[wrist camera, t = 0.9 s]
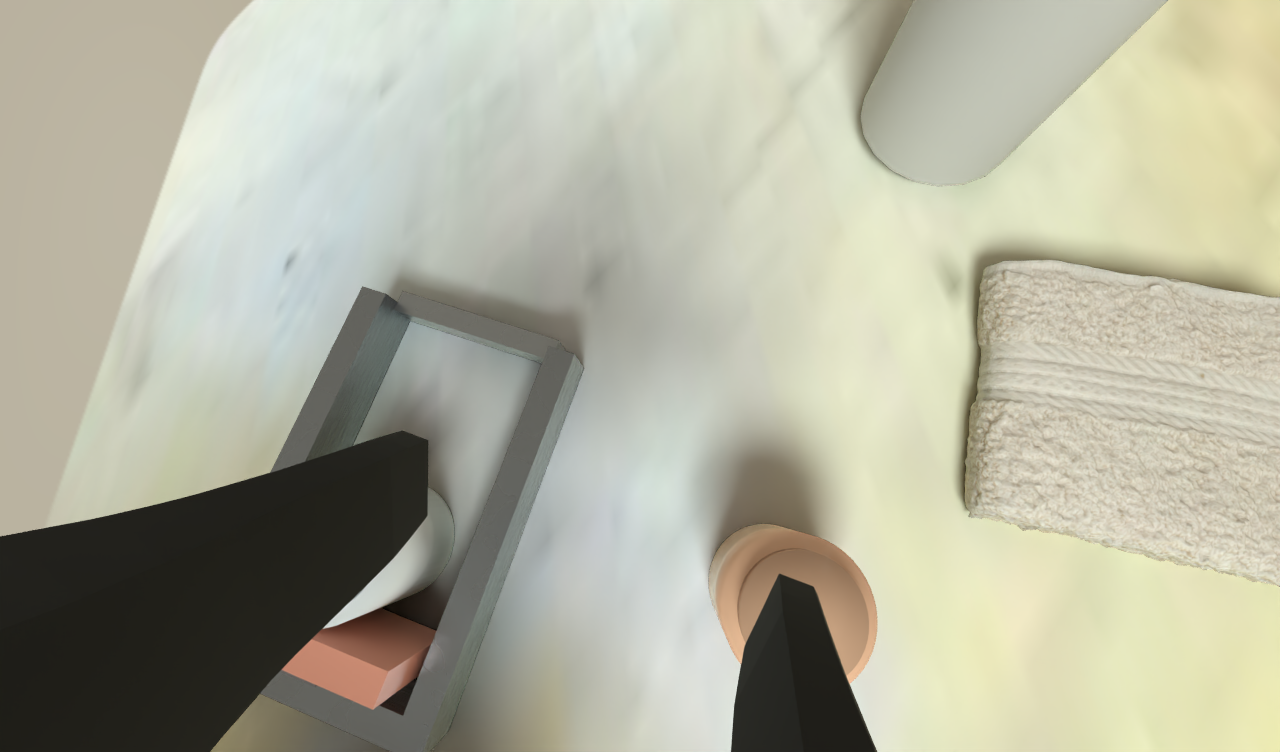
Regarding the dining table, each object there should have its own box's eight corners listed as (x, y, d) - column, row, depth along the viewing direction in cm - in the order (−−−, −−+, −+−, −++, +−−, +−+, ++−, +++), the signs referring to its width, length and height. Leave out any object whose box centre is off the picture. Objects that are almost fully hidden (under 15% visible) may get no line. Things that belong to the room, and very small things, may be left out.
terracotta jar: (810, 667, 20) (865, 733, 15) (693, 623, 21) (704, 670, 15) (839, 546, 21) (900, 565, 16) (727, 507, 22) (748, 513, 16)
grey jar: (426, 615, 21) (344, 657, 16) (326, 574, 22) (213, 602, 16) (471, 502, 22) (409, 505, 17) (374, 467, 23) (284, 458, 17)
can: (825, 114, 26) (956, -193, 14) (941, 52, 27) (1157, -291, 15) (911, 222, 24) (1139, -27, 13) (1033, 154, 25) (1358, -144, 13)
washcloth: (1403, 624, 20) (1536, 647, 17) (945, 520, 21) (990, 524, 18) (1371, 348, 22) (1481, 325, 19) (965, 276, 24) (1008, 245, 21)
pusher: (425, 685, 20) (361, 737, 16) (272, 621, 21) (173, 653, 17) (445, 634, 21) (388, 671, 16) (295, 573, 21) (203, 593, 17)
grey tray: (448, 731, 20) (418, 764, 18) (234, 638, 21) (179, 657, 19) (588, 357, 23) (579, 341, 21) (397, 296, 25) (368, 274, 22)
